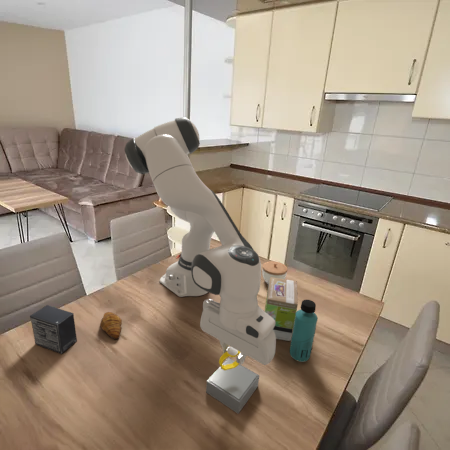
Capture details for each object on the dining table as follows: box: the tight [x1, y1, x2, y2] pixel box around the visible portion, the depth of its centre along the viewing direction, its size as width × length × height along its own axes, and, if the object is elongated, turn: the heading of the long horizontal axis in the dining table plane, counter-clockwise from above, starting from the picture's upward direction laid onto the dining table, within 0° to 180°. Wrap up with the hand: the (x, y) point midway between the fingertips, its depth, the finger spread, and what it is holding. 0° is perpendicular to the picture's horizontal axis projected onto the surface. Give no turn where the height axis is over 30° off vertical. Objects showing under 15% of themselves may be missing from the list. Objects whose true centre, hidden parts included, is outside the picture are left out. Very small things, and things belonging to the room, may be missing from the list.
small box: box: [29, 304, 78, 355], centre depth 91 cm, size 11×6×10 cm, turn 71°
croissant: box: [99, 311, 123, 340], centre depth 100 cm, size 14×7×5 cm, turn 33°
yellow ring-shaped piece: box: [218, 346, 241, 371], centre depth 77 cm, size 6×3×6 cm, turn 114°
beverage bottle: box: [289, 299, 318, 363], centre depth 90 cm, size 6×7×20 cm
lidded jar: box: [261, 260, 288, 286], centre depth 132 cm, size 11×11×9 cm
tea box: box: [264, 277, 299, 342], centre depth 105 cm, size 15×10×15 cm, turn 168°
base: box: [205, 357, 260, 415], centre depth 80 cm, size 10×10×4 cm
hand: (233, 358), depth 77 cm, fingers closed on yellow ring-shaped piece, 3 cm apart
